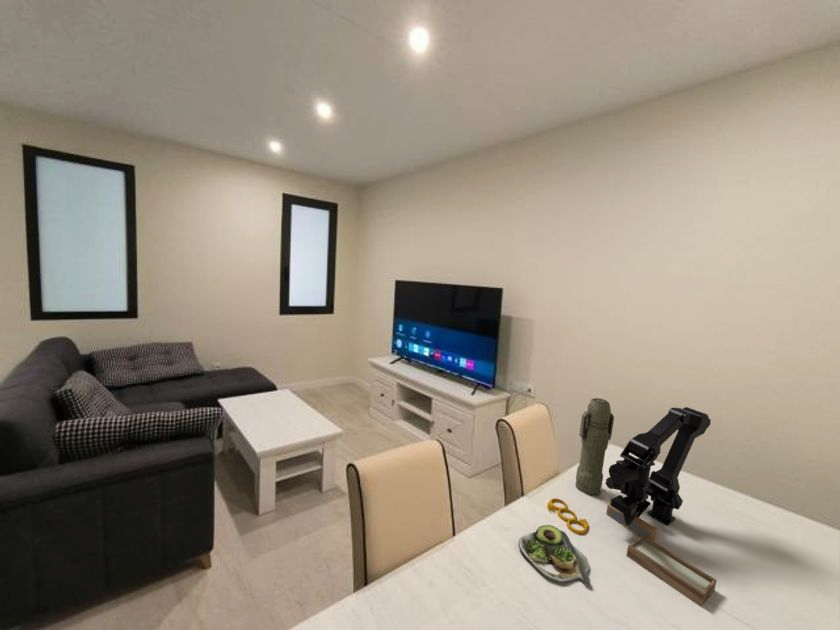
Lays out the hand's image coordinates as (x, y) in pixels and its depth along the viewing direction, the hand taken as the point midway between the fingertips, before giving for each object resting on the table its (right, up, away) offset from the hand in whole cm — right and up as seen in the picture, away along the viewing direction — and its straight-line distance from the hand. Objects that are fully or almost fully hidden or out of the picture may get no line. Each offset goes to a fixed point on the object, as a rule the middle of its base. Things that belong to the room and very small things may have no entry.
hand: (630, 522), depth 116 cm
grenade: (-5, +1, +20) cm, 20 cm away
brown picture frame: (0, -3, -18) cm, 18 cm away
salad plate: (-31, -1, -15) cm, 34 cm away
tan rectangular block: (0, -1, 0) cm, 1 cm away
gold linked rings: (-20, 0, +3) cm, 20 cm away
